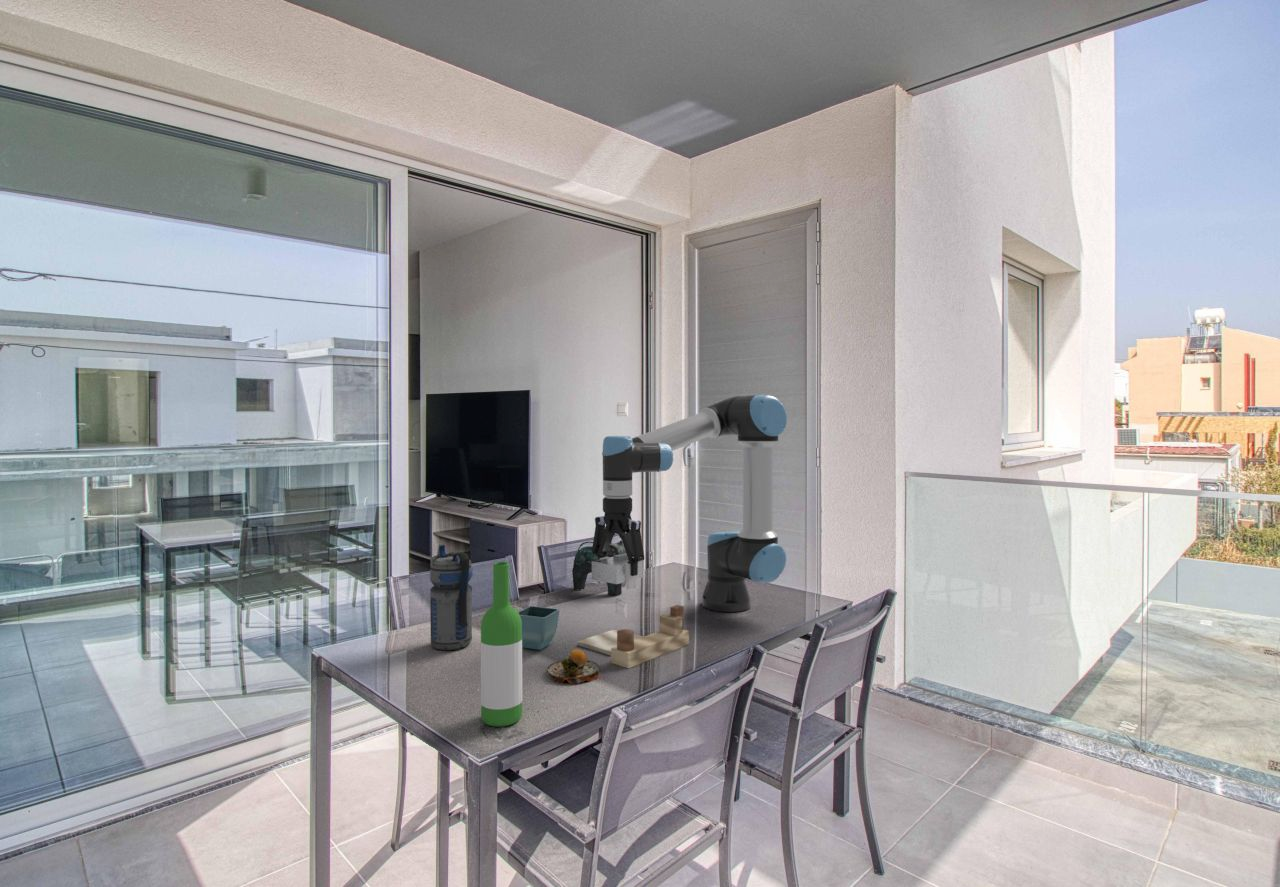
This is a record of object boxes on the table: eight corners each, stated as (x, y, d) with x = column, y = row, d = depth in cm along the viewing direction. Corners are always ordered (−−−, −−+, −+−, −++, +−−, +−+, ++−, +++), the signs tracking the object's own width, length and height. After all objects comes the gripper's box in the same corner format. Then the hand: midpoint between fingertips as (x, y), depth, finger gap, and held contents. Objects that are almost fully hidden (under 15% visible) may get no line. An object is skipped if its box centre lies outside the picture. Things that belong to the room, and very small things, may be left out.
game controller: (627, 594, 225) (627, 534, 224) (616, 598, 219) (616, 536, 219) (579, 586, 235) (579, 529, 235) (568, 590, 230) (568, 531, 229)
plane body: (672, 639, 178) (672, 603, 177) (689, 644, 174) (689, 607, 174) (611, 662, 160) (611, 622, 160) (628, 668, 157) (628, 627, 156)
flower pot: (560, 643, 175) (560, 608, 174) (544, 654, 166) (544, 617, 166) (529, 639, 178) (529, 605, 177) (512, 650, 169) (512, 614, 169)
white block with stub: (618, 572, 179) (618, 551, 179) (642, 577, 174) (642, 555, 174) (591, 579, 172) (591, 556, 172) (616, 584, 166) (616, 561, 166)
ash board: (615, 632, 183) (615, 628, 183) (649, 642, 176) (649, 638, 176) (577, 645, 173) (577, 641, 173) (611, 655, 165) (611, 651, 165)
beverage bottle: (448, 657, 164) (447, 554, 163) (421, 644, 173) (421, 547, 172) (484, 647, 171) (484, 548, 170) (457, 635, 180) (457, 542, 180)
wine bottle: (497, 732, 124) (496, 569, 123) (472, 720, 129) (471, 563, 128) (530, 719, 130) (530, 563, 129) (505, 707, 135) (505, 557, 134)
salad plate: (573, 662, 161) (573, 631, 161) (610, 674, 154) (610, 641, 154) (535, 677, 152) (535, 644, 152) (572, 690, 145) (572, 655, 144)
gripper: (577, 495, 176) (577, 581, 177) (639, 501, 162) (639, 595, 163) (597, 492, 182) (597, 576, 183) (659, 498, 168) (659, 589, 169)
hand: (617, 585), depth 173 cm, fingers closed on white block with stub, 8 cm apart
